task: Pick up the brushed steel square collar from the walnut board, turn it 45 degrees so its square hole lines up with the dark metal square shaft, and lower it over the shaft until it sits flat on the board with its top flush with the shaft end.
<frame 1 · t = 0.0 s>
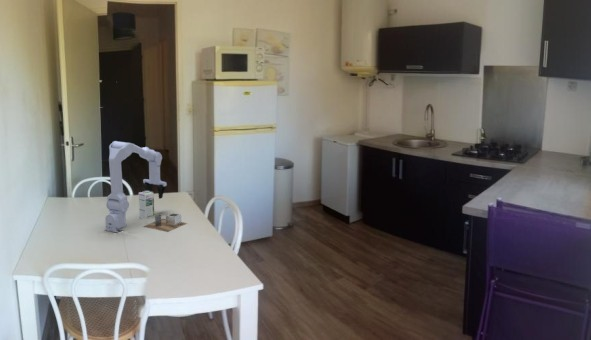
hand: (155, 197, 267), 10 cm above the table, tool pointing down, fingers open, 7 cm apart
shaft: (158, 227, 248), resting on board
board: (165, 227, 249), on the table
collar: (173, 224, 250), point 1 cm above the table, touching board
syrup box: (146, 218, 263), on the table
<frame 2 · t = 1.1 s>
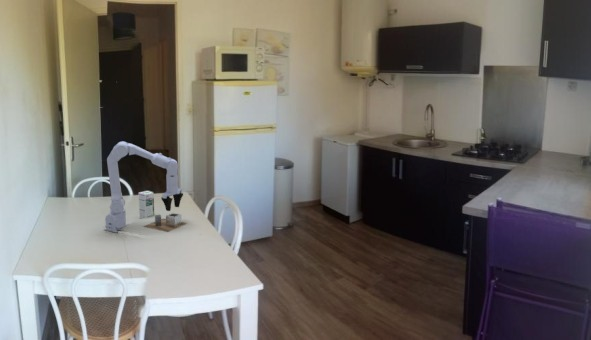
hand: (172, 208, 249), 9 cm above the table, tool pointing down, fingers open, 7 cm apart
nothing on the table moved.
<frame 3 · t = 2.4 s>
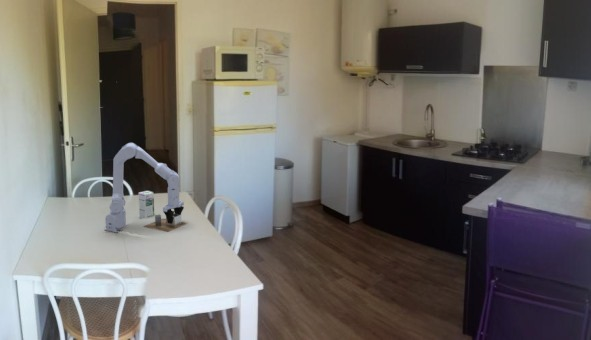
hand: (173, 221, 249), 3 cm above the table, tool pointing down, fingers closed on collar, 5 cm apart
collar: (173, 224, 250), point 1 cm above the table, touching board, gripper
everything else where it was.
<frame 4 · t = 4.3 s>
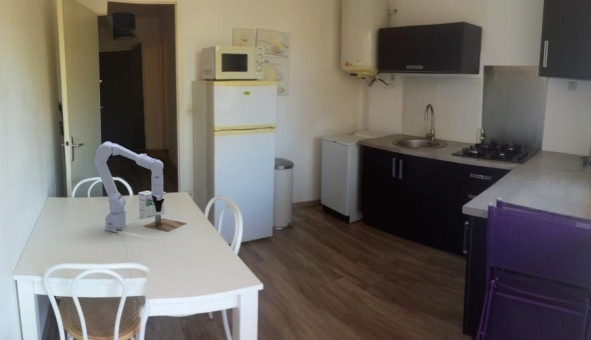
hand: (157, 210, 246), 9 cm above the table, tool pointing down, fingers closed on collar, 5 cm apart
collar: (158, 213, 246), point 8 cm above the table, touching gripper
everything else where it was.
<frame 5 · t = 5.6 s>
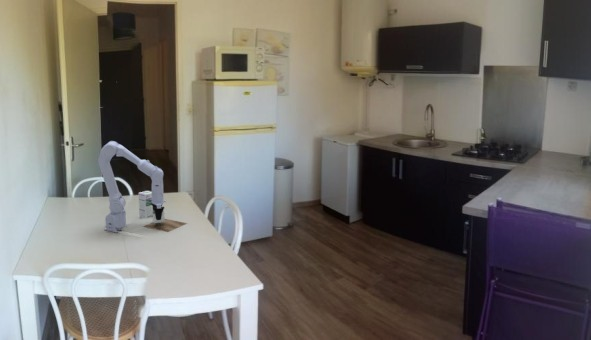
hand: (158, 218, 247), 5 cm above the table, tool pointing down, fingers closed on collar, 5 cm apart
collar: (158, 221, 247), point 4 cm above the table, touching gripper
everything else where it was.
when the fingers open (4 cm above the table, at t = 6.4 s): collar drops 1 cm, resting on board.
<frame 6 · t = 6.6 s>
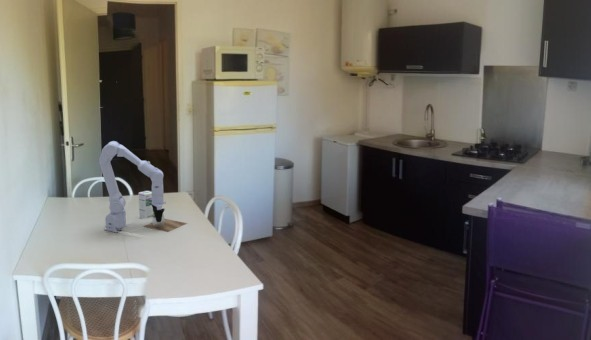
hand: (158, 219, 247), 4 cm above the table, tool pointing down, fingers open, 7 cm apart
collar: (158, 224, 248), point 1 cm above the table, touching board
everything else where it was.
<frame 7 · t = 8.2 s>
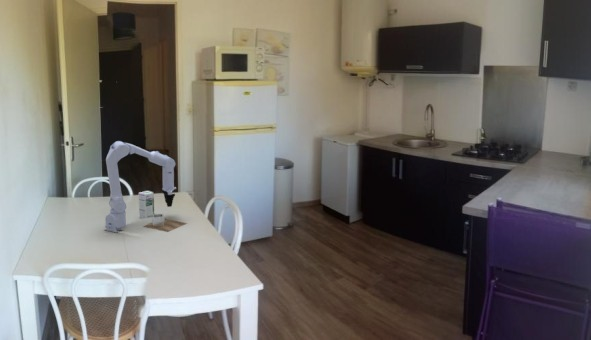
hand: (168, 204, 257), 9 cm above the table, tool pointing down, fingers open, 7 cm apart
nothing on the table moved.
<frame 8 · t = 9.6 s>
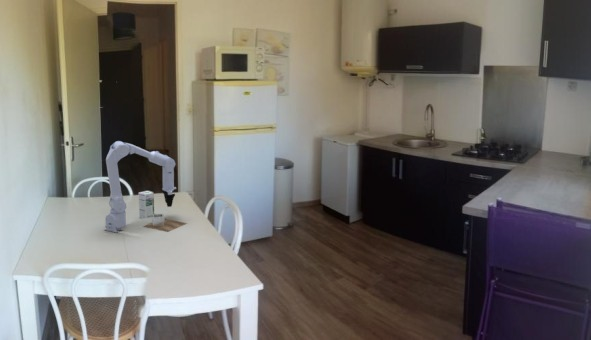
hand: (168, 204, 257), 9 cm above the table, tool pointing down, fingers open, 7 cm apart
nothing on the table moved.
at the end: collar 0.1 cm from the shaft (horizontally); collar point 1.5 cm above the table; the gripper is holding nothing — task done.
